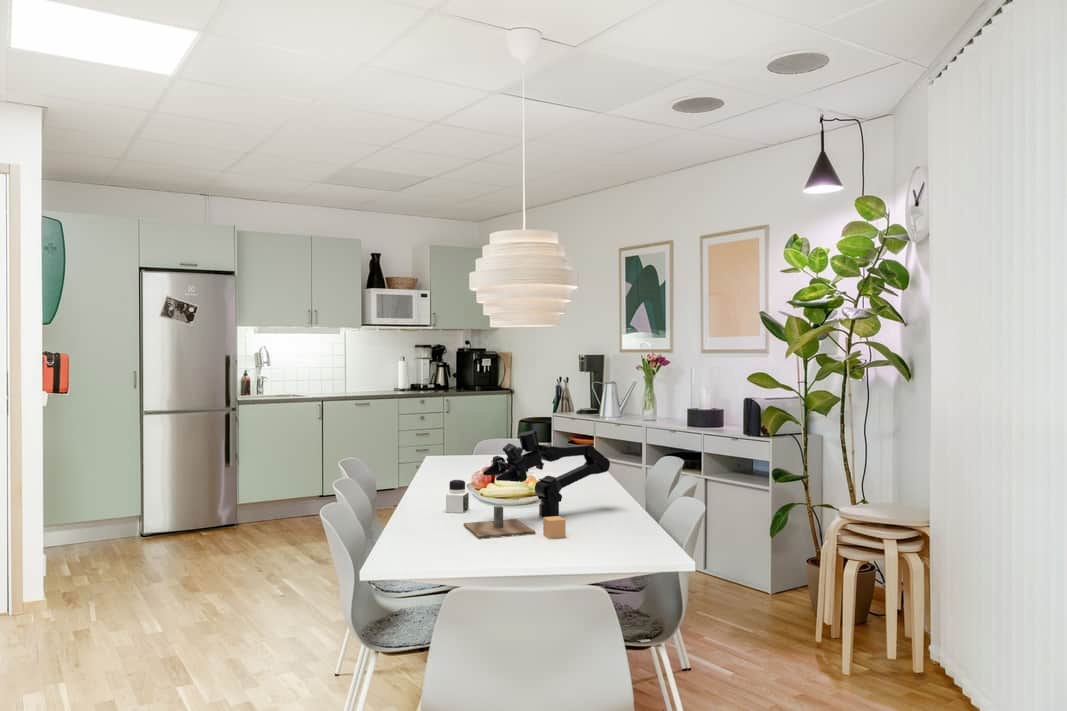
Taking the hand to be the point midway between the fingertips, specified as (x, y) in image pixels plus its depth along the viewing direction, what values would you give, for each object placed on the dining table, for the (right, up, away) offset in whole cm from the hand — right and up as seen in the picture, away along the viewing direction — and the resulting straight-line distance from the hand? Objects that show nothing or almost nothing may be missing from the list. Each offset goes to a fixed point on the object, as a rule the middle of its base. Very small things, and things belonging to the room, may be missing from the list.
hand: (489, 476), depth 277 cm
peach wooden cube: (+23, -18, -16) cm, 33 cm away
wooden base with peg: (+3, -18, -6) cm, 19 cm away
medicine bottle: (-14, -17, +24) cm, 33 cm away
